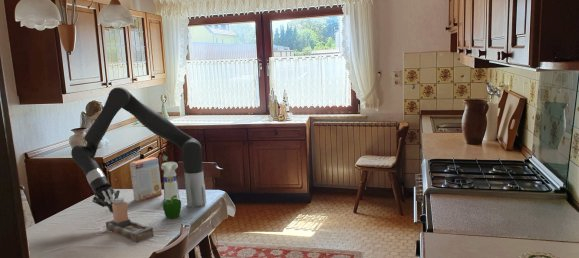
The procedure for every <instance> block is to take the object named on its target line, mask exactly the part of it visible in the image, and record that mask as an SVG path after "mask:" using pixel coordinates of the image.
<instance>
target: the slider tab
mask: <svg viewBox="0 0 579 258" xmlns="http://www.w3.org/2000/svg"><path fill="white" fill-rule="evenodd" d="M113 200H114V204H112V208H113V213H112V215H113V220H114V221H112V224H114V225H116V226H119V227H123V226H126V225H129V224H130V218H129V215H128V207H127V201H125V199H124V198H123V197H118V198H117V199H114V198H113Z"/></svg>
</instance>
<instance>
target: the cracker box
mask: <svg viewBox="0 0 579 258" xmlns="http://www.w3.org/2000/svg"><path fill="white" fill-rule="evenodd" d="M129 166H130V167H129V168H130V175H131V177H130V178H131V183H132V192H133V193H132V194H133V200H134V201H137V202H143V201H145V200H148V199H151V198H154V197H158V196H161V195H163V193H162V183H161V173H160V165H159V158H158V157H154V156H151V157H147V158H142V159H139V160H134V161H130V162H129Z"/></svg>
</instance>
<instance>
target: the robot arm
mask: <svg viewBox="0 0 579 258" xmlns="http://www.w3.org/2000/svg"><path fill="white" fill-rule="evenodd" d="M121 109H123V110H125V111H126V112H128V113H130V114H131V115H132V116H133V117H134V118H136V120H137V121H138V122H139V123H141V124H142V125H143V126H144V127H145V128H146V129H148V131H150V132H152V133H153V134H155V135H156V136H158V137H159V138H162V139H164V140H167V141H168V142H170V143H172V144H174V145H176V147H177V148H179V149H180V150H181V151H182V154H181V156H182V164H183V165H182V166H183V172H184V184H185V194H186V195H185V196H186V205H187V207H190V208H199V207H203V206H206V204H207V198H206V197H207V195H206V193H207V192H206V184H205V178H204V177H205V176H204V163H203V155H202V154H203V153H202V150H203V149H202V144H201V142H200V141H199V140H197V139H196V138H194V137H192V136H190V135H189V134H187V133H185V132H184V131H183V130H181V129H179V127H178V126H176V125H175V124H174V123H173V122H171V121H170V120H169V119H168V118H166V117H165V116H164V115H162V114H161V113H159V112H157V110H155V109H153V108H152V107H150V106H148V105H147V104H144V103H143V102H141V100H139V99H137V98H136V97H135V96H134V95H133V94H132V93H131V92H130V91H129V90H128V89H126V88H124V87H122V86H121V87H120V86H119V87H113V88H112V89H111V90H110V91H109V93H108V96H107V99H106V100H105V103H104V106H103V107H102V109H101V111H100V113H99V115H98V116H97V117H96V119H95V120H94V122H93V123H92V125H91V126H90V127H89V129H88V131H87V132H86V134H85V135H84V138H83V139H84V141H85V142H87V143H86V145H80V144H78V145H75V146H73V147H72V149H71V152H70V154H71V155H70V156H71V157H72V160H73V161H74V163H76V165H77V166H78V167H79V168H80V169H81V170H82V171H83V173H84V175H85V177H86V180H87V182H88V185H89V187H91V190H92V191H93V193H94V196H93V197H92V200H91V201H92V202H93V203H94V204H95V205H99V206H100V207H102V208H104V207H107V208H108V210H109V212H110V213H112V214H113V208H112V204H114V199H117V198H119V196H120V190H119V189H118V190H114V188H113V187H112V186H111V184H110V182H109V179H108V178H107V177H106V175H105V173H104V172H103V170H102V169H101V167H100V165H99V163H98V162H97V161H96V160H95V159H94V158H95V156H96V153H97V151H98V148H99V144H100V142H101V141H102V139H103V138H104V136H105V135H106V133H107V131H108V129H109V127H110V125H111V123H112V122H113V120H114V118H115V117H116V115H117V113H118V112H119V111H120V110H121Z"/></svg>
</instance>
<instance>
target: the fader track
mask: <svg viewBox="0 0 579 258" xmlns="http://www.w3.org/2000/svg"><path fill="white" fill-rule="evenodd" d="M112 221H114V219H111V220H108V221H105V227H106V230H107V231H108V230H109V232H111V233H113V234H116V235H118V236H120V237H123V238H126V239H128V240H130V241H133V242H135V243H138V242H141V241H143V240H147V239H149V238H151V237H154V229H153V227H151V226H147V225H144V224H142V223H139V222H137V221H134V220H130V224H129V225H126V226H123V227H119V226H116V225H114V224H112Z"/></svg>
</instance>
